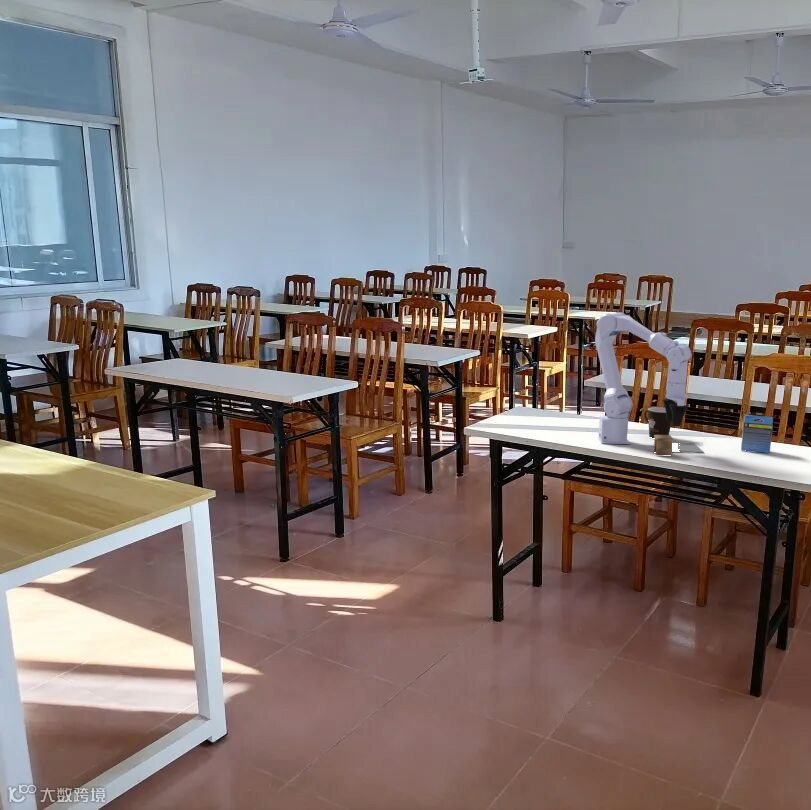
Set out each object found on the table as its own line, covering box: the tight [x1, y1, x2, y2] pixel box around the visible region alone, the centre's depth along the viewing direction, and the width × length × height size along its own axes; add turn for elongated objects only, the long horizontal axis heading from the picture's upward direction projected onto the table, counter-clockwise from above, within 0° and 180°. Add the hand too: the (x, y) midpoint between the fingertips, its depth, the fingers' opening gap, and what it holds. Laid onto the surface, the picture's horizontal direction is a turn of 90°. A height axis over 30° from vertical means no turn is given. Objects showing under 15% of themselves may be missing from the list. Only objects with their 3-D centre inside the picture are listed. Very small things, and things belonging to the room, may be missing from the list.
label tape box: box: [740, 414, 774, 454], centre depth 273 cm, size 9×4×12 cm, turn 68°
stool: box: [653, 434, 674, 456], centre depth 268 cm, size 5×4×6 cm
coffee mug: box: [643, 407, 673, 438], centre depth 292 cm, size 12×9×10 cm
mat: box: [677, 442, 705, 454], centre depth 277 cm, size 12×12×1 cm
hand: (673, 423), depth 270 cm, fingers open, 7 cm apart
